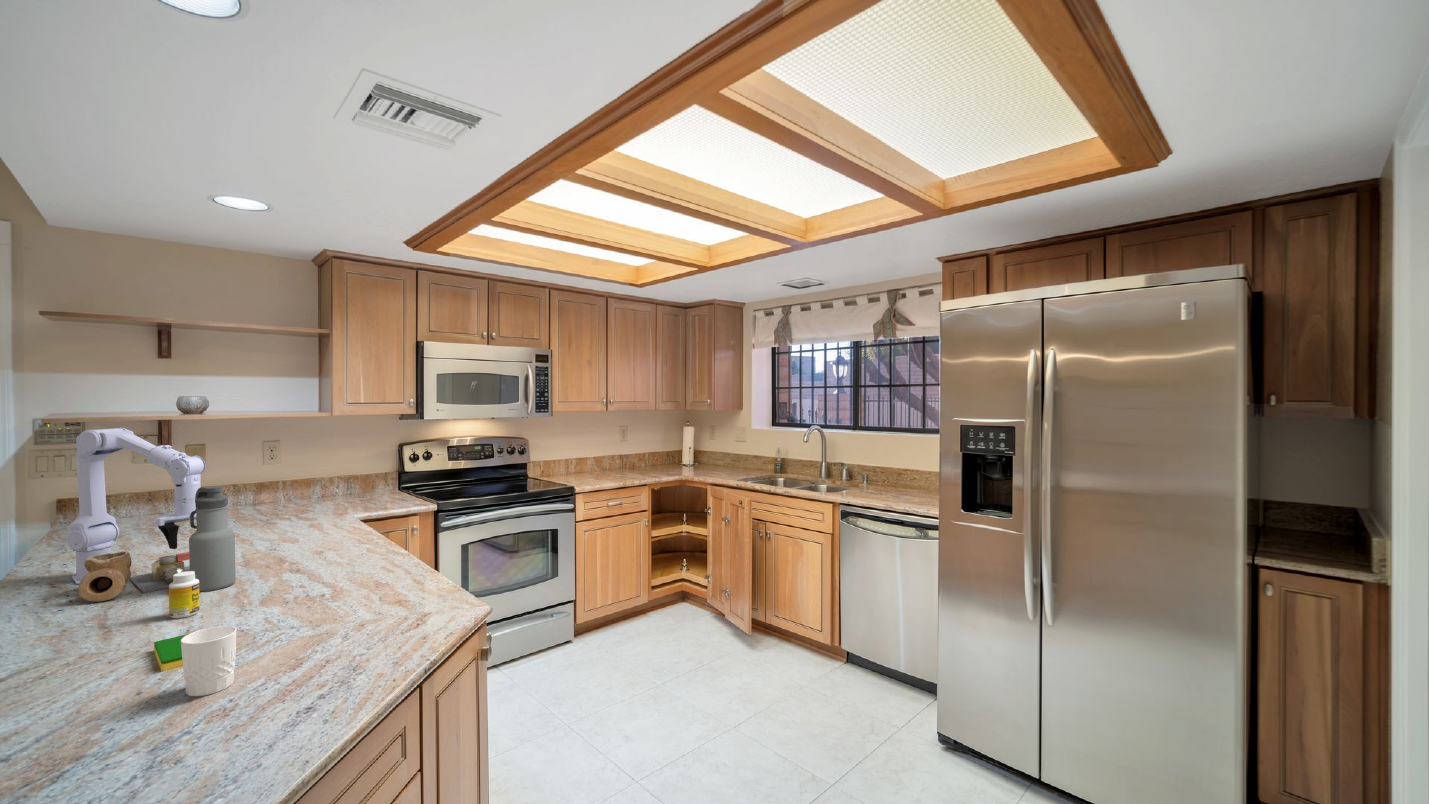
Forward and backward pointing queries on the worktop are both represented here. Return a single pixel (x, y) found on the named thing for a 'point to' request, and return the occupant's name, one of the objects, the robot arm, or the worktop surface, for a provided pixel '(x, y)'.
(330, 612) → the worktop surface
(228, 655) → the white cup
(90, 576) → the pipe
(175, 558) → the lever
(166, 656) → the dish sponge
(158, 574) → the valve body
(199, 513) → the water bottle
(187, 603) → the supplement bottle
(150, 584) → the mat
